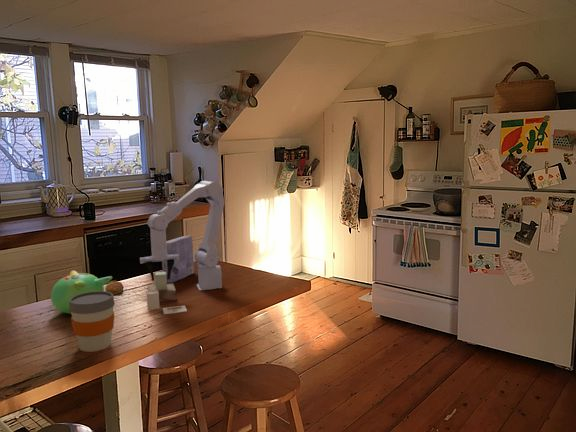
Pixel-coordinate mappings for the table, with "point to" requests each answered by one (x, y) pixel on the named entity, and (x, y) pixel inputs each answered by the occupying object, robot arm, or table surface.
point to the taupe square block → (165, 292)
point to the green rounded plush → (75, 288)
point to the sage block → (160, 280)
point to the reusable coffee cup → (92, 319)
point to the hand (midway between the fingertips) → (160, 279)
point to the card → (174, 309)
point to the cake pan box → (180, 258)
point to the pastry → (114, 287)
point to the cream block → (153, 299)
